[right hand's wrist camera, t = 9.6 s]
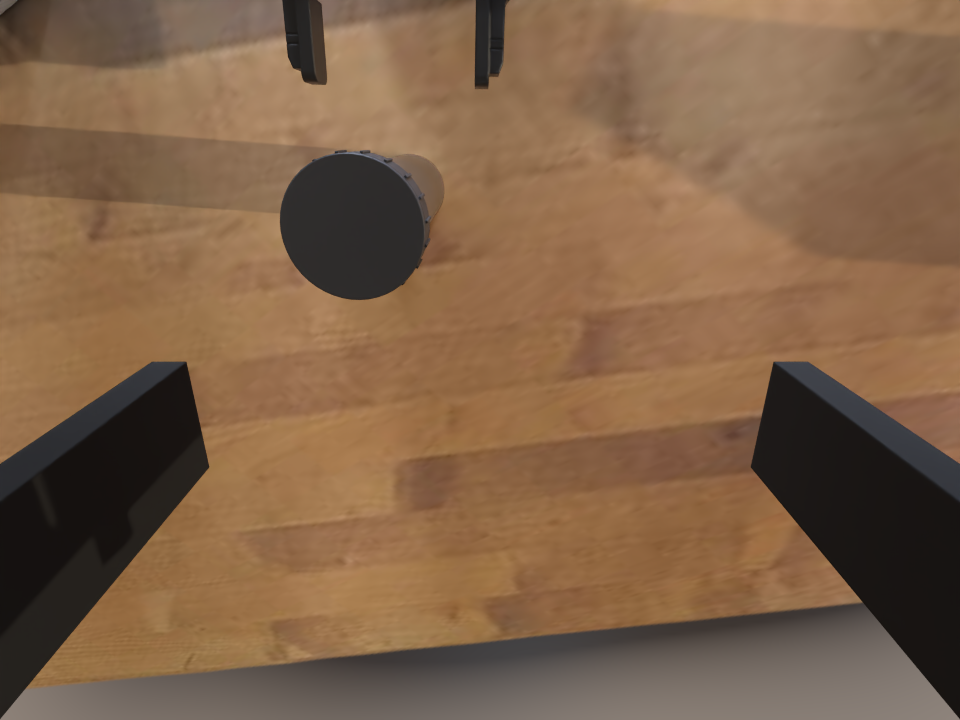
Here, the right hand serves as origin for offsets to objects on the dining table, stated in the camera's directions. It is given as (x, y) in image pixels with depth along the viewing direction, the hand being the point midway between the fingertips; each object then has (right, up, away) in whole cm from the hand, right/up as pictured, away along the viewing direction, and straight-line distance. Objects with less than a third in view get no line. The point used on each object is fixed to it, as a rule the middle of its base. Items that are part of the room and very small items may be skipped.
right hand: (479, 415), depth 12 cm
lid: (-5, +6, +8) cm, 11 cm away
